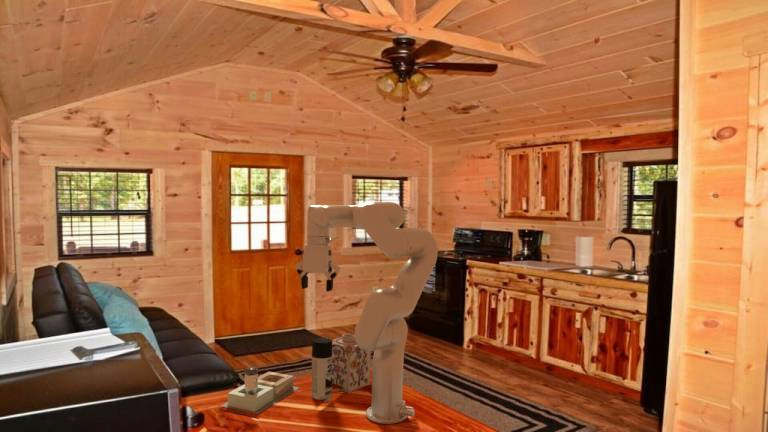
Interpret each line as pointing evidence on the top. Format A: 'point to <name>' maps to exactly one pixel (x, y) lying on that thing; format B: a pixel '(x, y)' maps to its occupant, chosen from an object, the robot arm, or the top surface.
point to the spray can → (322, 369)
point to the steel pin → (251, 380)
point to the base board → (263, 406)
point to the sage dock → (250, 398)
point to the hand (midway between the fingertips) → (316, 289)
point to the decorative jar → (350, 364)
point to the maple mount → (276, 382)
